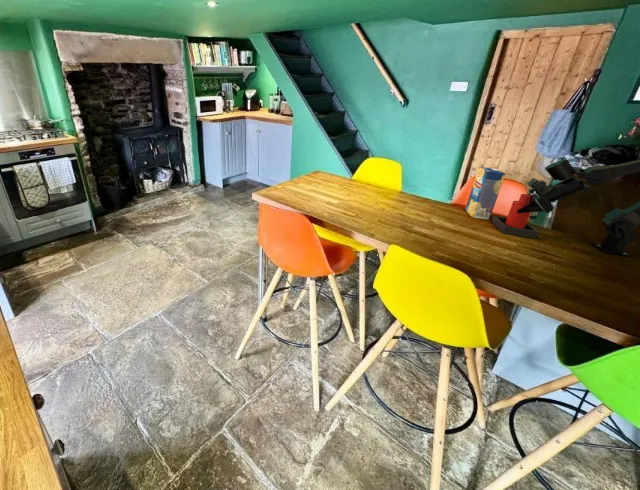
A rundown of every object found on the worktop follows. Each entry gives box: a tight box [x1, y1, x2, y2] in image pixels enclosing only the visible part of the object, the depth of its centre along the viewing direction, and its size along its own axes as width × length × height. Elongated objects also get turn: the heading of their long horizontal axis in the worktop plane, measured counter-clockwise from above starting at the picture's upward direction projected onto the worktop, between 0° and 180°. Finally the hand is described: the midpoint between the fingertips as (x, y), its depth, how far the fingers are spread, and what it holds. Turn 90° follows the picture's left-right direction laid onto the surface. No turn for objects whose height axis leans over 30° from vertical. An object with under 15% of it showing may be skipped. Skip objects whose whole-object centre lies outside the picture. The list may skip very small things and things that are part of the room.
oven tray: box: [491, 215, 539, 239], centre depth 128 cm, size 13×11×3 cm
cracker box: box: [464, 166, 507, 221], centre depth 141 cm, size 7×11×22 cm, turn 162°
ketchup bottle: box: [506, 193, 532, 228], centre depth 126 cm, size 6×6×14 cm
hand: (516, 209), depth 126 cm, fingers closed on ketchup bottle, 6 cm apart
